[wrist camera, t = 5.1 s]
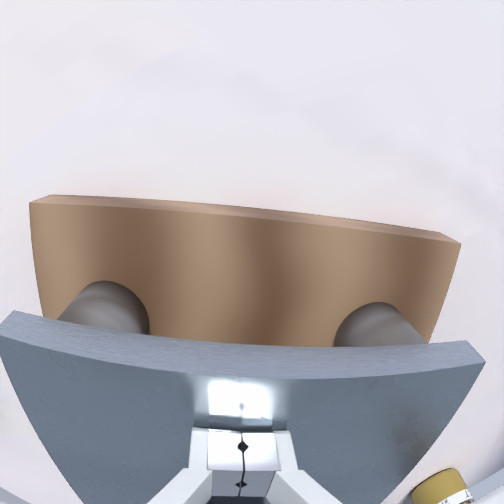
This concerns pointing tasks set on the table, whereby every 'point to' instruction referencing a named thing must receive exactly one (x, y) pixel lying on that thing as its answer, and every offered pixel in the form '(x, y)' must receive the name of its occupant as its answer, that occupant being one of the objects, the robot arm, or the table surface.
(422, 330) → the leveling base
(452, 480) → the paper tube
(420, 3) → the table surface
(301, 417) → the plate
